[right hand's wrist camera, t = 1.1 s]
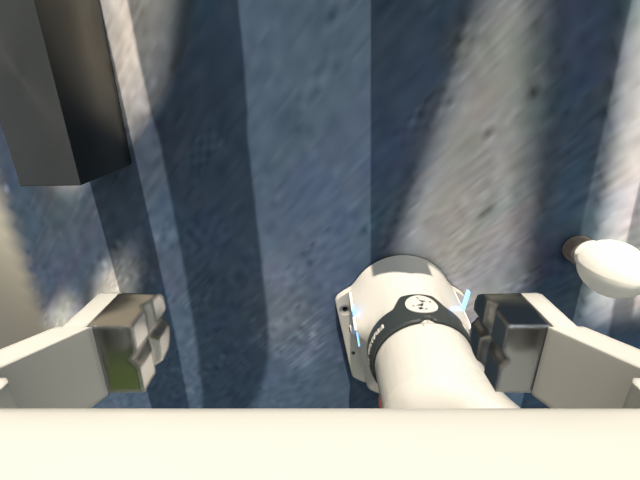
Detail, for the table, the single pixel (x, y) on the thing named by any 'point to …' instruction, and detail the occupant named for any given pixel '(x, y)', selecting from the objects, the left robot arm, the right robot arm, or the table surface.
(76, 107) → the box
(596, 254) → the light bulb
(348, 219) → the table surface
